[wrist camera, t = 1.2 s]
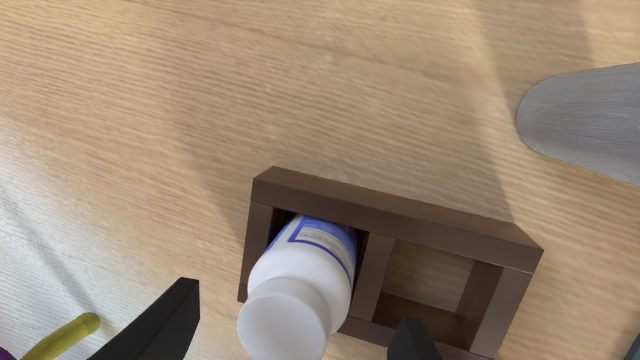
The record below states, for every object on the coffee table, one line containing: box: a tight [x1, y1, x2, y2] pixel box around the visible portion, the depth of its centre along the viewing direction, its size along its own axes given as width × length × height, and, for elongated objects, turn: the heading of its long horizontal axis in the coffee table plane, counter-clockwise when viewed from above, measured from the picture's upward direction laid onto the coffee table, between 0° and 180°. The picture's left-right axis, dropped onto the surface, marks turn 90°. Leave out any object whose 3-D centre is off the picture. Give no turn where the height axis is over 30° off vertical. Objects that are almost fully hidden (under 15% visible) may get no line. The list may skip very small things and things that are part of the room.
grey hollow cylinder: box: [516, 62, 640, 187], centre depth 12 cm, size 4×4×10 cm
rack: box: [237, 166, 544, 360], centre depth 20 cm, size 9×16×4 cm, turn 79°
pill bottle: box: [237, 213, 358, 360], centre depth 17 cm, size 5×5×10 cm
